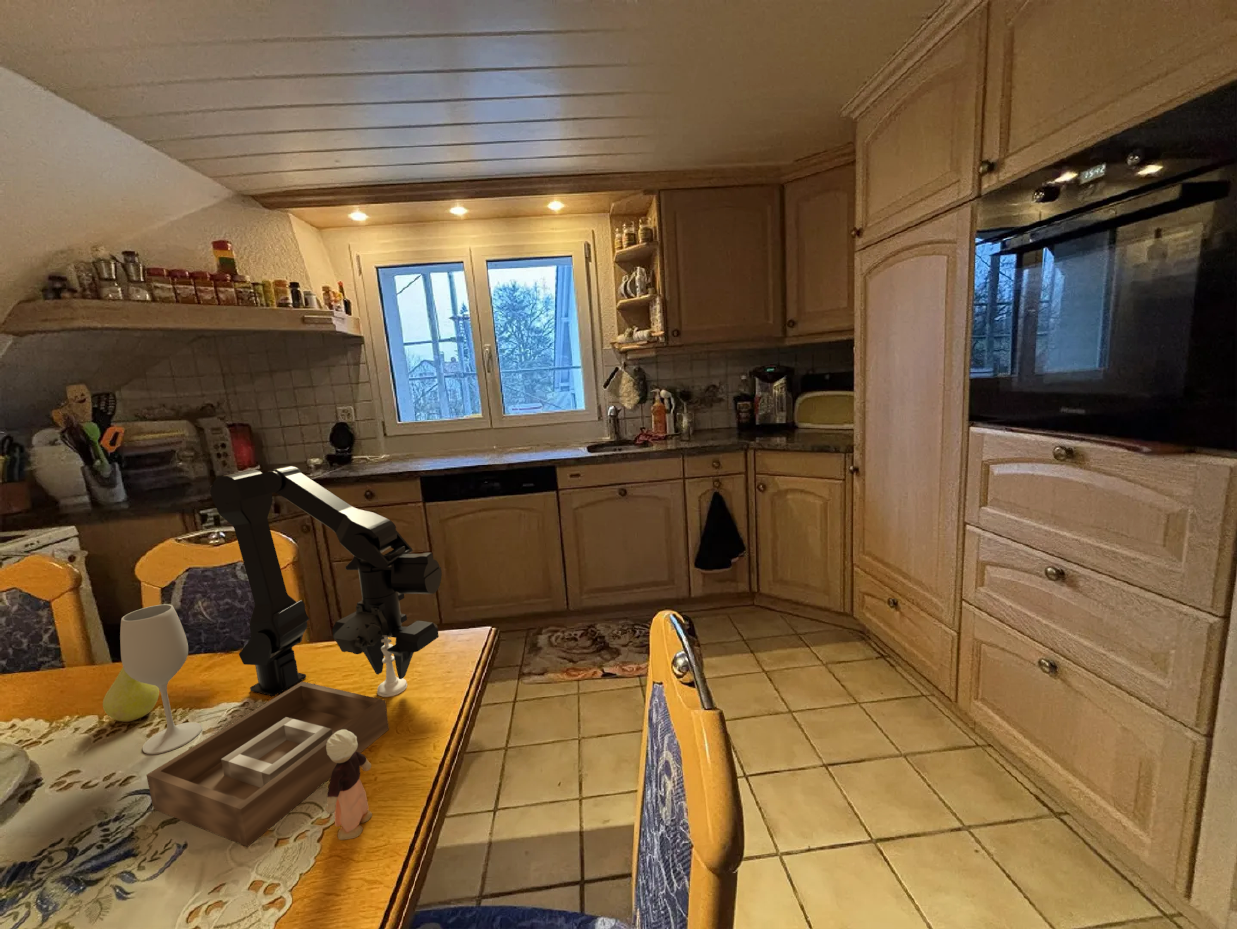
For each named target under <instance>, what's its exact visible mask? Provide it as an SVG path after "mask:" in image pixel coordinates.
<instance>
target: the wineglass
mask: <svg viewBox="0 0 1237 929" xmlns="http://www.w3.org/2000/svg"><path fill="white" fill-rule="evenodd" d="M181 622H182V621H181V620H180V617H179V616H178V613H177V611H176V609H175V608H174V606H173V604H168V603H167V604H164V603H163V604H157V605H151V606H147V607H143V608H140V609H137V610H134V611H131V612H129V613H127V614H125V615H124V616H122V617H121V620H120V632H119V634H120V635H119V640H120V643H119V644H120V660H121V663H122V668H123V667H124V670H125V672H126V673H127V674H128V675H129V676H130V677H131V678H133V679H135V680H137V681H139V682H142V683H146V684H150V685H155V686H157V687H158V688H159V693H160V695H161V700H162V705H163V710H164V715H165V719H166V720H165V721H166V728H165V729H163V730H160V731H159V732H157V733H155V734H154V735H152V736H151V737H150V738H149V739H147V740H146V741H145V742H144V743H143V745H142V752H143V753H145V754H147V755H158V754H163V753H167V752H170V751H173V750H176V749H179V748H181V747H182V746H185V745H186V744H189V743H190V742H192V741H193V740H194V739H196V738H197V737H198V736H199V735H200V733H201V732H202V731H203V726H202V723H200V722H195V721H188V722H183V723H179V724H176V725H175V722H174V719H173V714H172V710H171V705H170V699H169V695H168V684H169V683H170V680H172V679H173V677H174V676H176V675H177V673H178V672H179V671H180V670H181V669H182V667H183V666H184V664H185V663H186V661H187V659H188V655H189V645H188V639H187V636H186V632H185V630H184V627H183V625H182V623H181Z"/></svg>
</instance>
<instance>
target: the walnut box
mask: <svg viewBox="0 0 1237 929" xmlns="http://www.w3.org/2000/svg"><path fill="white" fill-rule="evenodd" d="M387 711H388V710H387V704H386V699H383V698H378V697H373V696H369V695H365V694H361V693H355V692H352V691H346V690H343V689H338V688H333V687H330V686H329V687H328V686H325V685H319V684H316V683H311V682H305V681H299V682H298V683H296V684H294V685H293V686H291V687H289V688H288V689H286V690H284V692H281V693H279V695H276V696H274V698H272V699H270V700H268V701H266V702H265V703H264V704H262V705H260V706H258V707H256V708H255V709H254V710H252V711H249V713H247V714H246V715H243V716H242V717H241V718H239V719H237V720H235V721H234V722H231V723H230V724H228V725H227V726H225V727H224V728H222V729H220V730H219V731H217V732H216V733H215V732H214V733H213V734H212V735H210V736H208V737H207V738H206V739H204V740H201V741H200V742H198V743H197V744H195V745H194V746H191V747H190V748H189V749H187V750H185V751H183V752H182V753H180V754H179V755H177V756H175V757H173V758H171V760H169V761H167V762H165V763H164V764H162V765H160V766H159V767H157V768H155V769H154V770H152V771H150V772H149V773H147V774H146V780H147V784H148V789H149V794H150V799H151V803H152V808H153V810H155V811H158V812H159V813H162V814H165V815H167V816H170V817H173V818H174V819H177V820H180V821H183V822H184V823H187V824H190V825H191V826H195V827H197V828H200V829H202V830H205V831H207V832H209V833H212V834H215V835H217V836H220V837H222V838H225V839H226V840H230V841H232V842H234V843H236V844H239V845H241V846H244V847H247V848H248V847H249V846H250V845H251V844H253V843H255V841H256V840H258V839H259V838H260V837H261V836H263V834H265V833H266V832H267V831H269V830H270V829H271V828H272V827H273V826H275V824H277V823H278V822H279V821H280V820H282V819H283V818H284V817H285V816H286V815H287V814H289V813H290V812H291V811H292V810H294V809H295V808H296V807H297V806H299V805H300V804H301V803H302V802H303V801H305V800H306V799H307V798H308V797H309V796H311V795H312V794H313V793H314V792H316V791H317V790H318V789H319V788H320V787H322V786H323V785H324V784H325V783H326V782H327V781H329V779H331V774H332V771H333V769H334V768H335V766H336V764H337V763H335V762H333V761H332V760H331V758H330V757H329V755H327V750H326V744H327V741H328V740H329V738H330V737H331V736H332V735H333V734H334V733H335V732H337V731H339V730H343V729H344V730H348V731H350V732H352V733H353V734H354V735H355V736H356V737H357V743H358V747H357V749H356V752H359V753H361V754H362V752H363V751H364V750H366V749H367V748H368V747H369V746H371V745H372V744H373V743H374V742H376V741H377V740H379V738H380V737H382V735H384V734H385V733H386V732H387V731H389V730H390V726H389V720H388V712H387Z"/></svg>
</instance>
